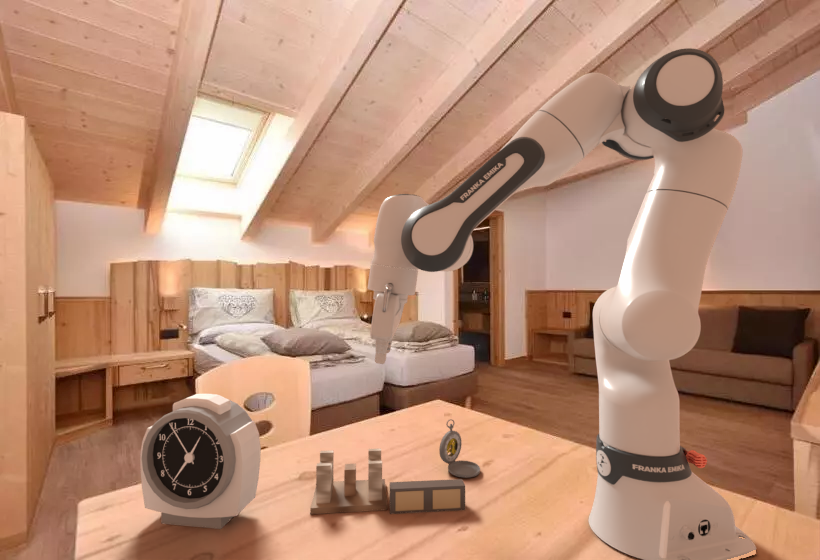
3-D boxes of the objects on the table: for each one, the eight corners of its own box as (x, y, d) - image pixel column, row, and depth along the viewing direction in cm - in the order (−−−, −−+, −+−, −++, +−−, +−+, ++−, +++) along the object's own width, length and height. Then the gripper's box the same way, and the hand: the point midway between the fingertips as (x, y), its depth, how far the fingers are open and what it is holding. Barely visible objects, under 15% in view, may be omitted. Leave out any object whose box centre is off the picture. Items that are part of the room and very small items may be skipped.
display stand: (384, 484, 78) (384, 445, 78) (387, 509, 69) (387, 466, 69) (317, 487, 77) (317, 448, 77) (310, 514, 68) (310, 469, 68)
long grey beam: (462, 503, 72) (462, 479, 72) (465, 511, 69) (465, 485, 69) (389, 507, 71) (389, 482, 71) (390, 515, 68) (390, 489, 68)
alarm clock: (132, 527, 64) (134, 400, 65) (171, 499, 73) (172, 387, 73) (237, 537, 62) (238, 405, 62) (264, 506, 70) (265, 391, 70)
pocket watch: (479, 481, 80) (479, 430, 80) (437, 477, 81) (437, 427, 81) (480, 463, 88) (480, 417, 88) (442, 460, 89) (442, 414, 89)
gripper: (406, 287, 63) (395, 373, 64) (411, 283, 84) (402, 349, 84) (367, 281, 63) (356, 368, 64) (381, 279, 84) (372, 345, 84)
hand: (382, 357), depth 74 cm, fingers open, 8 cm apart
